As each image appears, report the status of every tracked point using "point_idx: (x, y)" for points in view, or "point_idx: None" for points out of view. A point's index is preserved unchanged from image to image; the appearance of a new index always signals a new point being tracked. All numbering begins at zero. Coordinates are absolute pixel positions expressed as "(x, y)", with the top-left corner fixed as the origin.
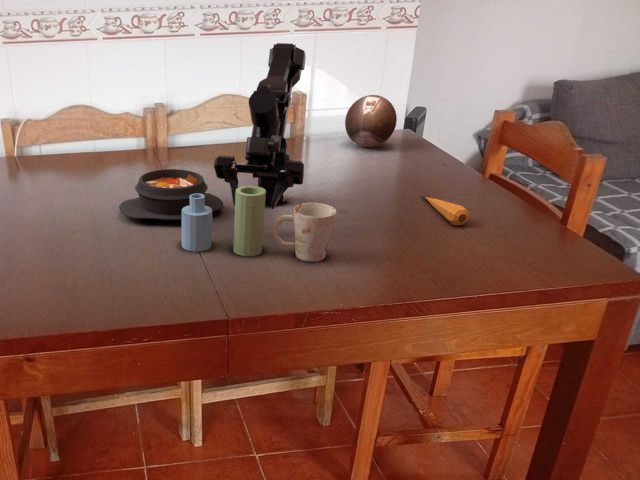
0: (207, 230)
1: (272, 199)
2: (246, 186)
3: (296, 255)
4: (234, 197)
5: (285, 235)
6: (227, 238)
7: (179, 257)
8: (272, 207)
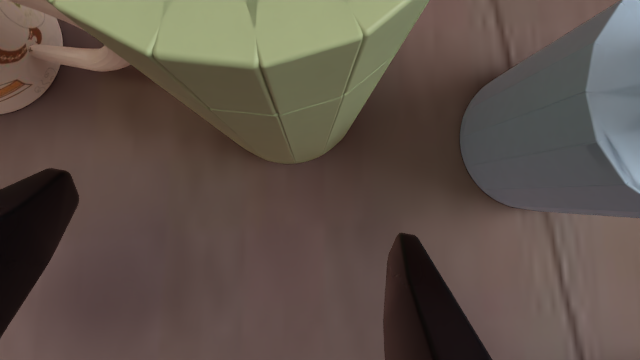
0: (533, 57)
1: (11, 210)
2: (307, 18)
3: (57, 25)
4: (422, 275)
5: (92, 299)
6: (384, 241)
7: (592, 7)
8: (58, 170)
